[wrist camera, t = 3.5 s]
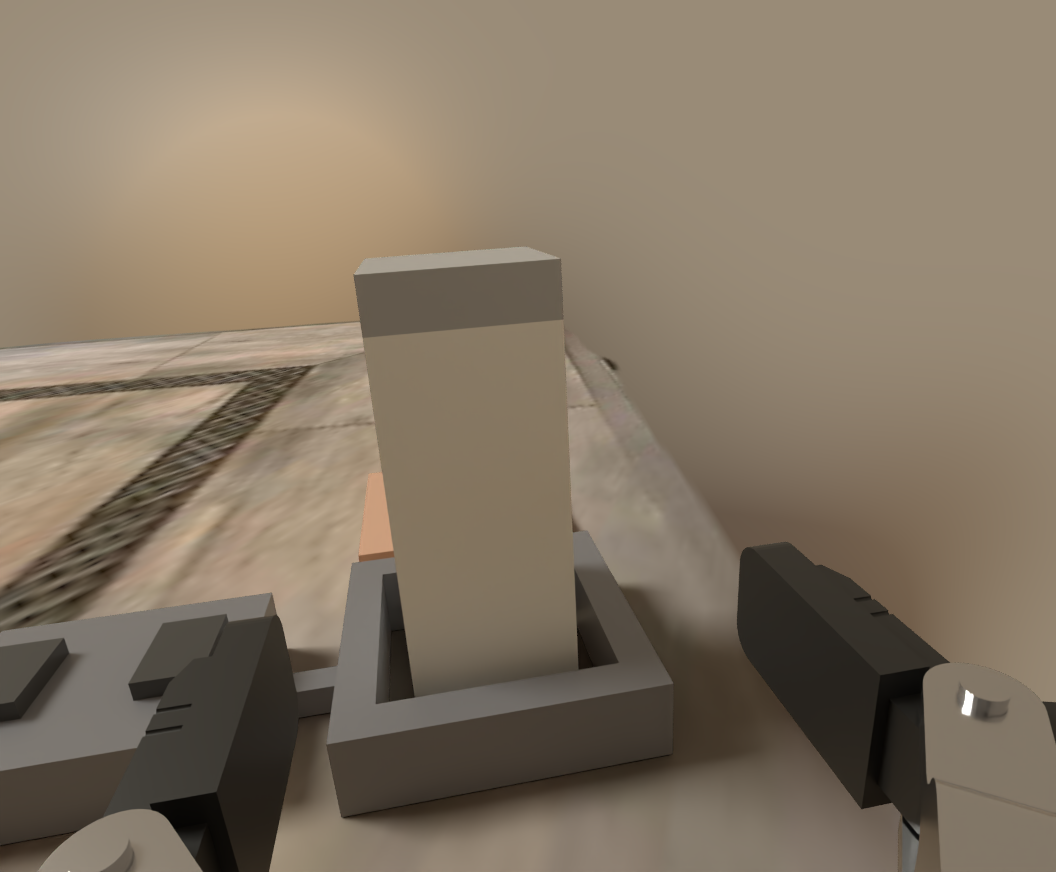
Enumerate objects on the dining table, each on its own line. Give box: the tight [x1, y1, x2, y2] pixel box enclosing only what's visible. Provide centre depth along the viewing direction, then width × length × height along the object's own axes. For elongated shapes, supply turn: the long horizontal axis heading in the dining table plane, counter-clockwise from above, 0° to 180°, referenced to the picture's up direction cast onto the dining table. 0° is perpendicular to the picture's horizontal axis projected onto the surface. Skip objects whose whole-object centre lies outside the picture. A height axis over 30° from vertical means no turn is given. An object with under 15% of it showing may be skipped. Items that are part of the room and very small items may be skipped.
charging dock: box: [0, 531, 674, 845], centre depth 22 cm, size 21×9×3 cm, turn 100°
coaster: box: [358, 472, 394, 562], centre depth 36 cm, size 10×10×1 cm
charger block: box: [354, 247, 578, 698], centre depth 21 cm, size 5×5×14 cm
